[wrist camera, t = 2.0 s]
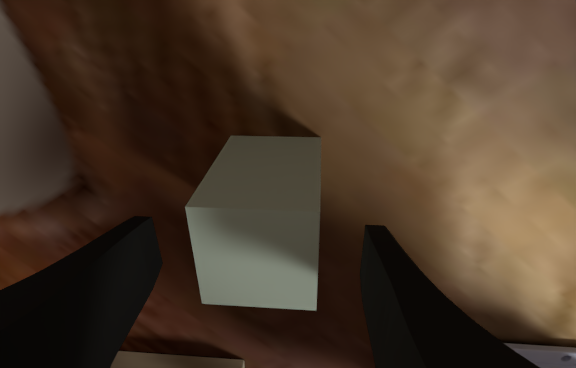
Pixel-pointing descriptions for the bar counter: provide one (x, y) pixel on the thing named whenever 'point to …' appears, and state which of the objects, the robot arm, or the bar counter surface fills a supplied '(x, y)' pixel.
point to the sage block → (259, 223)
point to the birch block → (171, 361)
